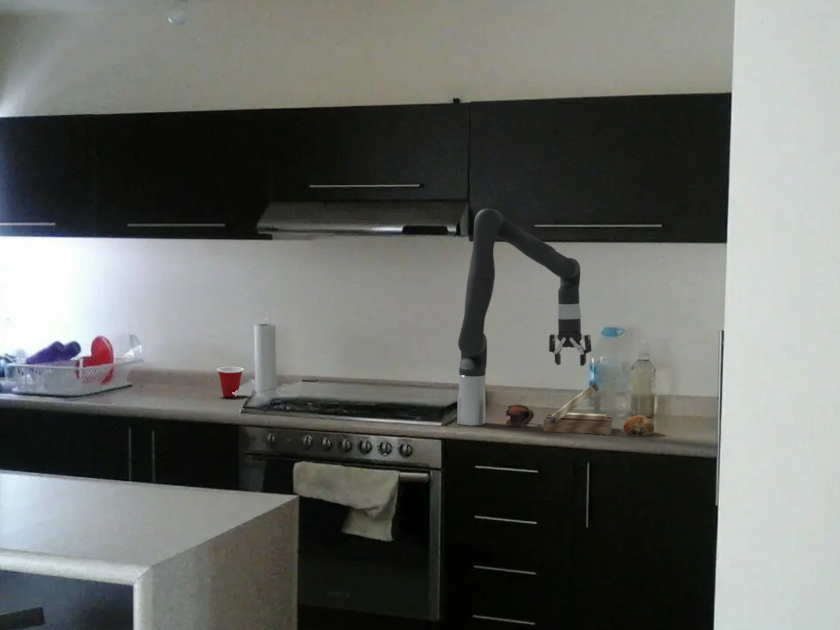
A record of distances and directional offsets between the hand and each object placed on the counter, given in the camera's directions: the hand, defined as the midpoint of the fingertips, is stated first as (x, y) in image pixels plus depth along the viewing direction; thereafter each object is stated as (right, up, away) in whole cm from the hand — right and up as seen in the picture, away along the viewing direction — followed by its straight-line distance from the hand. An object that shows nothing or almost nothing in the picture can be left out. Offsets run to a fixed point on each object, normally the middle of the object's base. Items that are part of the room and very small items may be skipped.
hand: (570, 365), depth 309 cm
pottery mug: (-16, -22, +10) cm, 29 cm away
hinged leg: (+2, -14, -1) cm, 14 cm away
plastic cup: (-129, -17, +70) cm, 148 cm away
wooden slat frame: (+3, -22, +2) cm, 22 cm away
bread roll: (+22, -23, -4) cm, 32 cm away
